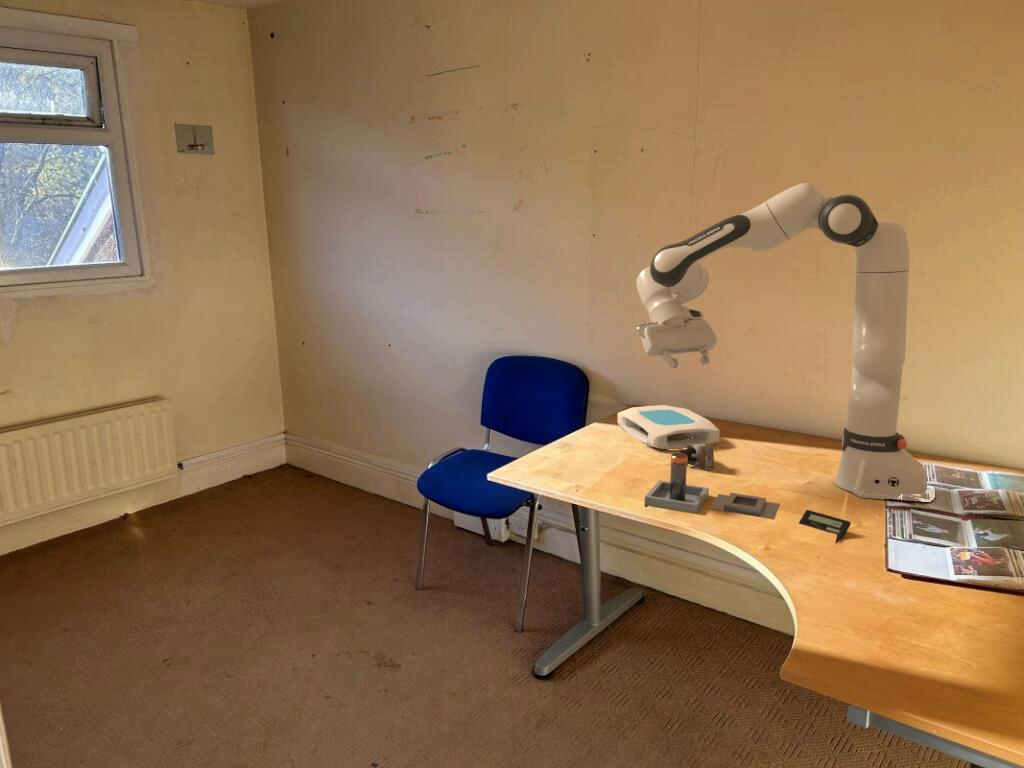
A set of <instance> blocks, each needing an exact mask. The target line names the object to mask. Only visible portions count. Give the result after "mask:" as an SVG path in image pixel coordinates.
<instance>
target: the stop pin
mask: <svg viewBox="0 0 1024 768" xmlns="http://www.w3.org/2000/svg"><path fill="white" fill-rule="evenodd" d="M687 457H688V456H687V455H686V454H683V453H680V452H674V453H672V454H671V455H670V480H669V482H670V499H672V500H678V501H685V493H686V485H687V473H688V472H687V468H688V462H687Z"/></svg>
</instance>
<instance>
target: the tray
mask: <svg viewBox="0 0 1024 768" xmlns="http://www.w3.org/2000/svg"><path fill="white" fill-rule="evenodd" d="M709 489H710V488H709V487H705V486H697V485H692V484H691V485H690V484H686V493H685V501H678V500H672V499H670V481H666V480H658V482H656V483H655V485H654V486H653V487H652V488H650V490H649V492H647V494H646V495H645V496H644V507H645V508H648V507H649V506H651V507H656V508H657V507H658V508H662V509H666V510H675V511H680V512H685V513H692V514H698V512H699V510H700V509H701V508H702V506H703V505H704V503H705V501H706V500H707V498H709V495H710V494H709V493H710V491H709Z"/></svg>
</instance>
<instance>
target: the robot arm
mask: <svg viewBox="0 0 1024 768" xmlns="http://www.w3.org/2000/svg"><path fill="white" fill-rule="evenodd" d="M811 229H818V230H820V231H821V232H822V233H823V235H824V236H825V237H826V238H827V239H829V241H832V242H835V243H839V244H843V245H847V246H852V247H853V248H854V249H855V253H856V255H855V256H856V266H855V267H856V268H855V269H856V270H855V294H854V295H855V297H854V312H853V313H854V314H853V315H854V316H853V332H852V346H851V347H852V348H851V362H852V368H851V377H850V385H849V393H848V403H847V414H846V422H845V423H846V424H845V427H844V428H843V432H842V439H841V447H842V448H841V450H842V454H841V456H840V457H841V459H840V461H839V464H838V465H839V466H838V468H837V472H836V474H835V476H834V479H833V482H834V484H835V485H836V486H837V487H839V488H841V489H843V490H845V491H848V492H851V493H853V494H854V495H856V496H857V497H860V498H863V499H875V500H884V499H888V498H895V497H899V496H900V495H901V494H923V493H925V492H926V490H927V482H928V477H927V472H926V469H925V467H924V465H923V464H922V463H921V462H920V461H919V460H918V459H916V458H915V457H914V456H912V455H911V454H910V452H908V451H906V448H907V446H908V442H907V441H906V440H905V437H904V435H903V433H901V434H900V433H898V432H897V427H898V426H897V425H898V417H899V409H900V397H901V388H902V375H903V367H904V364H905V362H906V361H905V360H906V346H907V345H906V344H907V342H906V339H907V320H908V319H907V316H908V298H909V297H908V296H909V295H908V294H909V279H910V277H909V275H910V253H909V241H908V236H907V232H906V230H905V228H904V227H903V226H902V225H899V224H898V223H896V222H890V221H879V220H878V219H877V218H876V217H875V215H874V213H873V211H872V210H871V207H870V206H869V204H868V203H867V201H866V200H864V199H863V198H861V197H860V196H858V195H856V194H846V193H845V194H841V195H837V196H835V197H828V198H827V197H826V196H825V195H824V194H823V193H822V192H821V190H820V189H819V188H818V187H817V186H815V185H814V184H811V183H809V182H802V183H798V184H796V185H794V186H790V187H789V188H787V189H785V190H783V191H781V192H779V193H777V194H775V195H773V196H772V197H771V198H769V199H767V200H766V201H764V202H762V203H761V204H759V205H757V206H755V207H753V208H751V209H749V210H747V211H746V212H743V213H740V214H736V215H733V216H730V217H727V218H725V219H723V220H721V221H719V222H716V223H715V224H713V225H710V226H709V227H707V228H705V229H703V230H701V231H700V232H697V233H696V234H694V235H692V236H690V237H689V238H686V239H684V240H682V241H679V242H677V243H673V244H668V245H665V246H663V247H661V248H660V249H659V250H658V251H656V252H655V254H654V255H653V257H652V258H651V262H650V265H649V266H647V267H645V268H644V269H643V270H642V271H641V272H640V273H639V274H638V276H637V278H636V289H637V290H636V291H637V292H638V295H639V298H640V301H641V303H642V306H643V307H644V308H645V310H646V312H648V317H649V322H642V323H640V325H638V327H637V333H638V334H639V336H640V339H641V343H642V346H643V349H644V352H645V354H646V355H648V356H649V357H654V356H655V357H657V356H660V357H661V359H662V360H663V361H665V362H666V363H667V364H668V365H669V367H670V368H671V369H675V368H678V367H679V365H680V363H679V361H678V359H677V358H674V357H673V356H671V355H678V354H687V353H688V354H689V353H699V354H700V355H701V358H700V359H699V361H700V363H701V365H702V366H705V365H709V364H710V362H711V359H710V357H709V352H710V351H712V350H713V349H714V348H715V346H717V344H718V337H717V335H716V334H715V331H714V330H713V328H712V326H711V324H710V323H709V322H708V321H706V320H704V318H705V315H704V313H703V311H700V310H696V309H692V308H688V307H686V306H682V305H683V304H686V303H687V302H689V301H691V300H694V299H695V298H697V297H699V296H700V295H702V294H703V293H704V292H705V290H706V289H707V286H708V284H709V274H708V271H707V270H706V268H705V267H703V266H702V264H700V263H699V262H701V261H703V260H704V259H707V258H708V257H710V256H712V255H714V254H716V253H718V252H720V251H721V250H724V249H728V248H742V249H748V250H752V251H754V252H755V251H756V252H768V251H770V250H773V249H776V248H778V247H780V246H782V245H783V244H785V243H786V242H789V240H792V239H793V238H795V237H797V236H798V235H799V234H802V233H803V232H805V231H807V230H811Z"/></svg>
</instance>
